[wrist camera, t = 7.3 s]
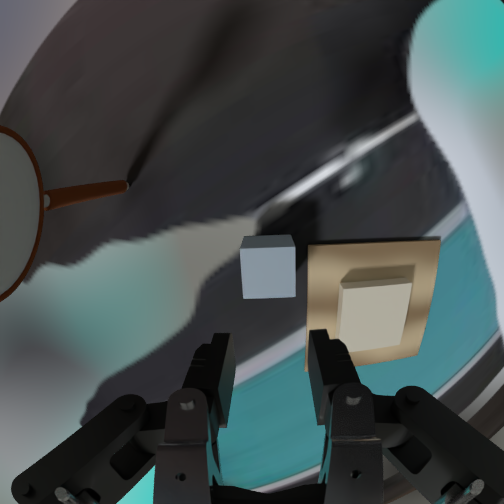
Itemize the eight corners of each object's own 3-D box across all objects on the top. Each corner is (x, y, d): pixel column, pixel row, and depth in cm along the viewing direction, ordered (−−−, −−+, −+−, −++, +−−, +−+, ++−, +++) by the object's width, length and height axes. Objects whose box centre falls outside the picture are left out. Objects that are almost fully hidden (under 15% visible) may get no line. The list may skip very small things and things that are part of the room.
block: (244, 236, 24) (239, 248, 20) (290, 234, 23) (295, 246, 20) (246, 279, 25) (243, 298, 21) (290, 277, 24) (295, 296, 21)
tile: (343, 289, 22) (412, 282, 22) (339, 281, 24) (404, 276, 23) (337, 353, 24) (399, 344, 24) (333, 344, 26) (394, 336, 25)
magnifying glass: (123, 140, 21) (-81, 131, 2) (139, 139, 21) (-74, 122, 2) (118, 230, 24) (-59, 331, 5) (133, 232, 24) (-47, 344, 5)
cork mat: (307, 244, 23) (308, 246, 23) (438, 239, 22) (440, 240, 22) (304, 369, 27) (304, 371, 27) (415, 353, 26) (417, 355, 26)
